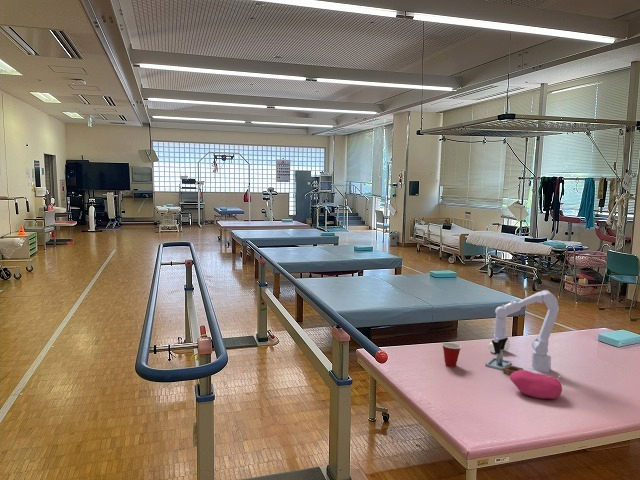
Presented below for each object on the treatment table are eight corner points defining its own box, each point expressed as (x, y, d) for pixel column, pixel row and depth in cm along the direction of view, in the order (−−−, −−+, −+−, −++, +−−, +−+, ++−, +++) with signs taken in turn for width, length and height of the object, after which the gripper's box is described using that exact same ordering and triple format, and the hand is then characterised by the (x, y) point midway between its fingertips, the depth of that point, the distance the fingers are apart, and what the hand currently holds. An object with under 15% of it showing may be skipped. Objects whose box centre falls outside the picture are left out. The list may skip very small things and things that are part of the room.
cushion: (503, 388, 231) (506, 369, 229) (521, 379, 243) (524, 362, 241) (550, 409, 214) (554, 389, 212) (566, 399, 226) (570, 380, 224)
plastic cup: (465, 366, 262) (466, 345, 261) (452, 370, 256) (453, 349, 254) (449, 360, 271) (450, 340, 269) (437, 364, 264) (437, 343, 263)
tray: (511, 364, 266) (511, 361, 266) (503, 371, 255) (503, 368, 255) (493, 360, 272) (493, 357, 272) (485, 366, 261) (485, 364, 261)
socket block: (522, 373, 253) (523, 368, 252) (518, 377, 246) (519, 372, 246) (507, 369, 258) (508, 364, 257) (503, 374, 251) (503, 369, 251)
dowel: (503, 364, 263) (504, 351, 262) (500, 366, 261) (501, 352, 260) (498, 363, 266) (498, 349, 265) (494, 364, 263) (495, 350, 263)
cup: (501, 348, 277) (512, 342, 283) (488, 337, 283) (499, 331, 289) (495, 359, 283) (506, 353, 289) (482, 348, 289) (493, 342, 295)
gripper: (497, 323, 269) (496, 346, 271) (489, 329, 258) (487, 353, 259) (510, 326, 265) (508, 349, 266) (502, 332, 254) (500, 356, 255)
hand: (499, 351), depth 263 cm, fingers open, 7 cm apart
